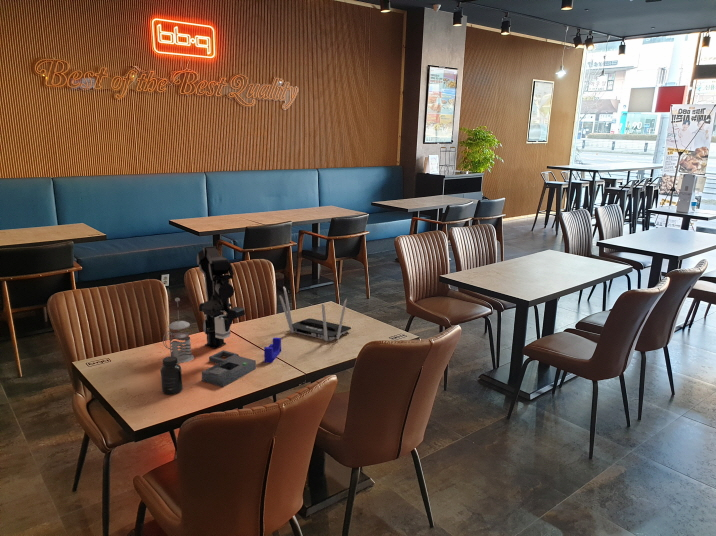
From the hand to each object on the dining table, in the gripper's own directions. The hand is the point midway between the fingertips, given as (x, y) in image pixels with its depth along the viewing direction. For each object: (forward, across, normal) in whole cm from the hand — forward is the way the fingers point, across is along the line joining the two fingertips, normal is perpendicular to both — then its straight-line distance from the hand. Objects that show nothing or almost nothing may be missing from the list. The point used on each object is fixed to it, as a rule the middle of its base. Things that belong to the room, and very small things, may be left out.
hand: (222, 330), depth 215 cm
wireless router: (+13, +15, +43) cm, 47 cm away
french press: (+13, -16, -8) cm, 22 cm away
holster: (+12, 0, 0) cm, 13 cm away
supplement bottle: (+13, +3, -29) cm, 32 cm away
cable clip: (+13, +13, +13) cm, 23 cm away
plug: (+2, 0, 0) cm, 2 cm away
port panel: (+12, +11, -9) cm, 19 cm away
